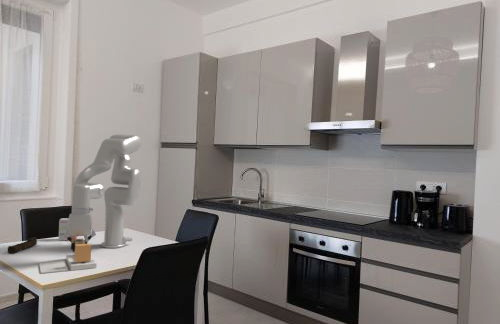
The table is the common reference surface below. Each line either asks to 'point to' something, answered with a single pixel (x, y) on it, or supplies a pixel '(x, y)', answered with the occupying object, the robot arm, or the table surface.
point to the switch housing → (80, 263)
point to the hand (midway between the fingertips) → (79, 250)
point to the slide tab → (82, 253)
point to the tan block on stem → (79, 242)
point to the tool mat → (53, 266)
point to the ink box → (63, 229)
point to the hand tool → (22, 245)
